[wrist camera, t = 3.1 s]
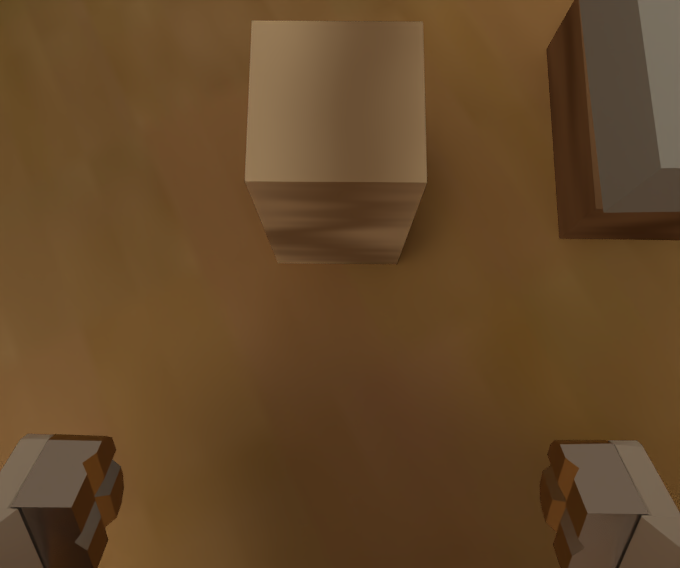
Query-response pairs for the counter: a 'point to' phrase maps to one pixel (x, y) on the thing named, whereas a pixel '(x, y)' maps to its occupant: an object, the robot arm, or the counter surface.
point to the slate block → (635, 101)
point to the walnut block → (586, 150)
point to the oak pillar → (336, 137)
